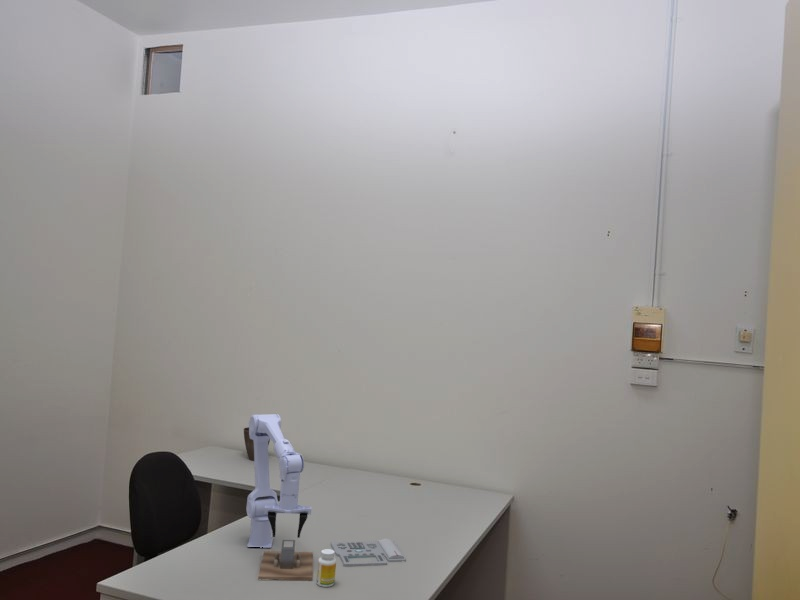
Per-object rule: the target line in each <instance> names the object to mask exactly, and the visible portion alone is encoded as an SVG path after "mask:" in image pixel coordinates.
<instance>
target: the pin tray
mask: <svg viewBox="0 0 800 600" xmlns="http://www.w3.org/2000/svg"><path fill="white" fill-rule="evenodd" d="M313 558H314V552H313V551H295V552H294V565H293V569H280V562H281V550H279V551H276V550H272V551H271V550H264V551H263V554H262V558H261V564H260V566H259V573H258V576H257V580H258V579H280V580H279V581H307V580H308V581H311V582H312V581H313V573H314V572H313V570H314V569H313V566H314V565H313V563H314V559H313ZM281 579H282V580H281Z"/></svg>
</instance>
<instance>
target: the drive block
mask: <svg viewBox="0 0 800 600" xmlns="http://www.w3.org/2000/svg"><path fill="white" fill-rule="evenodd" d="M295 548H296V540H295V539H282V543H281V549H280V551H281V562H280V569H293V565H294V552H296V551H295V550H296V549H295Z"/></svg>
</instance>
